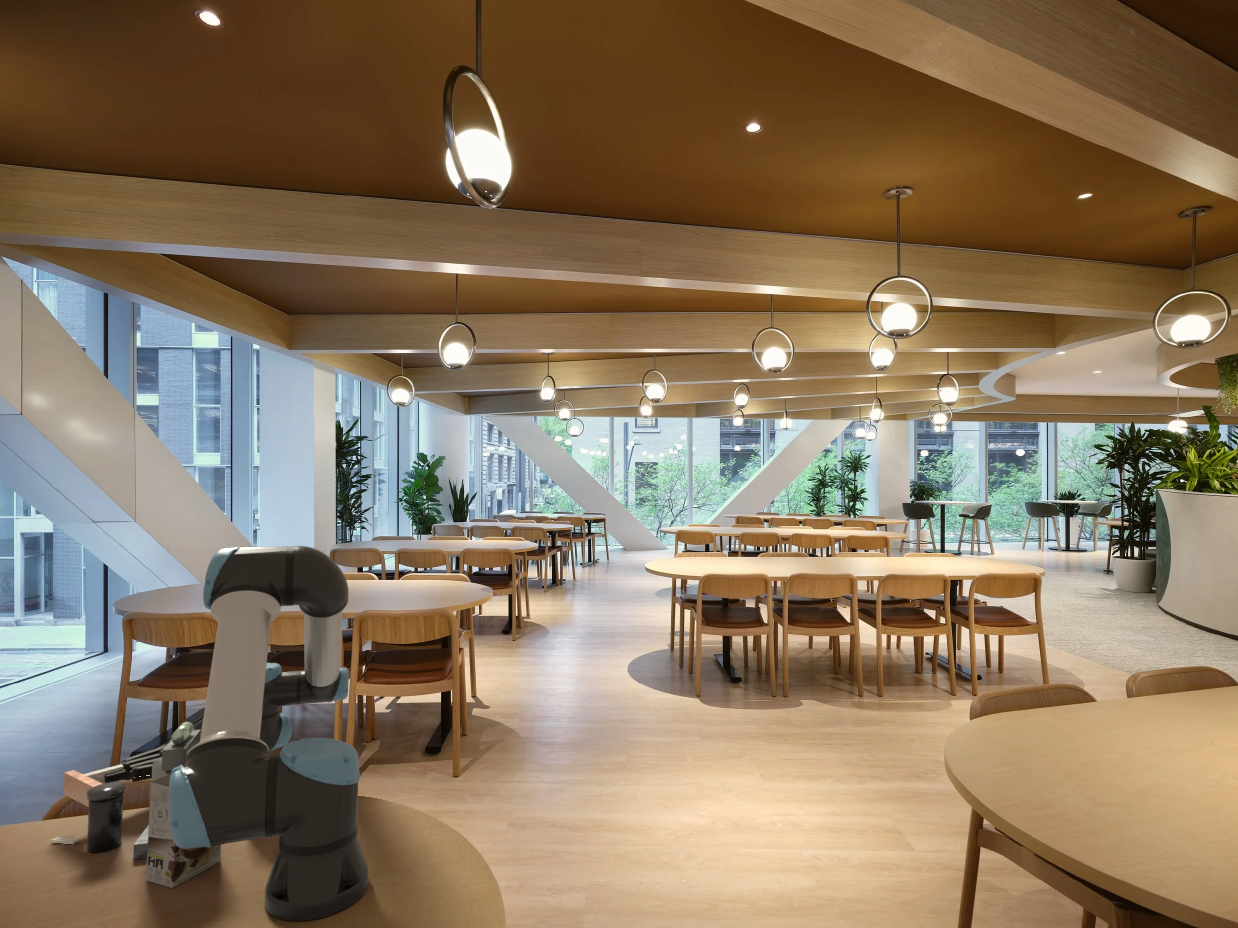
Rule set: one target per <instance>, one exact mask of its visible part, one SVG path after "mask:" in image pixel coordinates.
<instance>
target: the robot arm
mask: <svg viewBox="0 0 1238 928" xmlns="http://www.w3.org/2000/svg"><path fill="white" fill-rule="evenodd" d="M202 590H203V591H202V599H203V600H202V601H203V604H204V607H205V609H207V610H209V611H210V614H211V617H212V618H213V619H214V620H215V621H217V622H218V623H217V628H216V634H215V640H214V647H213V654H212V658H211V660H212V661H211V665H210V666H211V667H210V671H209V672H210V673H209V680H208V686H207V692H206V699H205V706H204V713H203V719H202V725H201V738H200V742H199V743H198V744H196V745H195V746H194V747H192V748H191V749H190V750H189V751H188V753H187V757H186V763H185V766H182V765H180V766H178V767H175V768H174V769H173V770H172V771H171V776H170V781H169V816H170V827H171V834H172V838H173V841H174V843H175V844H176V845H177V846H178V847H179V848H182V849H188V848H198V847H207V848H209V847H211V846H214V845H220V844H221V845H225V844H230V843H238V842H245V841H250V840H251V841H252V840H257V839H265V838H269V837H276V836H278V850H277V852H276V853H277V854H276V856H275V859H274V861H273V862H274V863H273V865H272V867H271V871H270V873H269V877H268V880H267V881H266V885H265V887H264V888H265V889H264V890H265V891H264V907H265V908H264V909H265V910H266V912H267V913H268V914H270V915H271V916H273V917H275V918H277V919H281V920H285V921H294V922H295V921H303V922H304V921H311V920H316V919H322V918H326V917H328V916H331V915H334V914H337V913H339V912H341V911H343V910H345V909H347V908H348V907H351V906H352V905H353V904H355V903H356V902H357V901H358V900H360V899H361V898H362V896H363V895H364V894H365V893H366V891H367V889H368V885H369V869H368V868H369V867H368V866H367V861H366V859H365V855H364V852H363V848H362V846H361V843H360V840H359V837H358V834H359V832H358V830H359V827H358V825H359V820H358V819H359V781H360V780H361V773H360V766H359V764H360V762H359V760H360V759H359V753H358V751H357V750H356V748H355V747H354V746H353V745H352V744H350V743H348V742H345V741H343V740H339V739H336V738H329V737H305V738H300V739H298V740H293V741H290V739H291V737H292V731H293V729H292V728H293V727H292V725H291V720H290V717H289V716H288V715H287V714H286V713H285V712H281V707H287V706H296V705H308V704H319V703H320V704H321V703H332V702H337V701H343V700H346V699H348V696H349V685H350V684H349V682H350V681H349V680H350V679H349V677H350V676H349V675H350V674H349V673H350V672H349V669H348V668H347V667H342V666H341V664H342V661H341V660H342V636H343V635H342V634H343V612H344V610H345V608H346V607H347V606H348V603H349V595H350V593H349V586H348V582H347V578H346V576H345V574H344V572H343V570H342V569H341V568H340V566H339V565H338V564H337V563H336V562H335V560H333V559H332V558H331V557H330V556H328V555H327V554H326V553H324V552H323V551H320V550H319V549H316V548H314V547H311V546H305V545H293V546H287V545H286V546H284V545H283V546H243V545H242V546H241V545H240V546H237V547H224V548H222V549H219V550H217V551H216V552H215V553H214V554H213V555H212V556H211V559H210V561H209V564H208V566H207V569H206V572H205V577H204V585H203V589H202ZM288 606H289V607H291V606H292V607H293V606H298V608H299V610H300V611H301V612H302V613H303V636H304V637H303V639H304V640H303V642H304V643H303V647H304V649H303V650H304V651H303V653H304V670H294V671H293V670H292V671H283V669H282V665H280V664H279V663H277V662H268V652H269V642H270V633H271V632H270V631H271V622H273V621H275V620H276V619H277V618H278V617H279V615H280V614H281V609H282V607H288ZM167 744H168V743H167ZM167 744H166V743H165V744H163V745H161V746H159V747H157V748H154V749H151V750H148V751H145V752H142V753H139V754H135V755H133V756H130V757H127V758H124V759H121V763H120V764H117V765H113V766H109V767H105V768H102V769H99V770H94V771H90V772H87V773H82V774H83V775H85V776H87V777H89V778H92V779H94V780H96V781H98V782H100V783H102V784H104V783H109V782H122V781H131V782H133V783H136V782H140V781H145V780H150V779H151V780H152V764H153V762H154V761H155V760H156V759H158V758H160V757H162V750H163V749H164V748H165V747H166V746H167ZM279 748H282V749H281V751H280V752H279V754H277V755H275V754H274V755H269V752H271V751H274V750H277V749H279ZM146 775H150V776H146ZM139 776H141V777H139ZM134 777H135V778H134Z"/></svg>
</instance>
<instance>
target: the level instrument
mask: <svg viewBox="0 0 1238 928" xmlns="http://www.w3.org/2000/svg"><path fill="white" fill-rule="evenodd" d="M194 726H195V725H194V724H193V723H192V722H190V721H184V722H182V723H181V724H180V725H179V726H178V727H177V729H175V731H173V733H172V734H171V737H170V741H169V742H168V743H167V746H166V747H165V748H164V749H163V750H162V757H160V758H158V759H156V760H155V761H154V762H153V764H152V778H151V781H154V780H157V779H159V778H162V777H165V776H167V775H170V774H171V771H172V770H173V769H174V768H175V767H178V766H180V765H182V766H185V763H186V757H187V753H188V751H189V750H190V749H191V748H192V747H194V746H195V745H196V744H198V743H199V742H200V738H201V731H202V729H195V727H194ZM148 830H149V824H148V825H147V826H146V828H145V829H144V830H143V831H142V833H141V835H139V836H138V839H137V840H136V841H135V843H134V844H133V858H132V859H133V860H140V859H147V851H148Z"/></svg>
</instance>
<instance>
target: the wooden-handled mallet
mask: <svg viewBox="0 0 1238 928" xmlns="http://www.w3.org/2000/svg"><path fill="white" fill-rule="evenodd" d="M83 774H84V773H81V772H79V771H78V770H75V769H73V770H72V769H71V770H68V771H66V772H64V773H63V795H65V796H67V797H68V798H70V799H72V800H74V801H76V802H78V803H80V804H82V805H83V806H85V807H86V808H88V811H87V812H88V814H87V815H88V816H87V839H86V841H87V843H86V851H87V852H90V853H102V852H105V851H109V850H112V849H114V848H117V847H118V846H119V845H121V843H122V840H123V837H122V836H123V814H124V813H123V811H124V810H123V809H124V793H125V792H126V788H127V787H126V786H127V785H126V783H125V782H122V781H119V782H109V783H104V784H102V783H100V782H98V781H96V780H94V779H92V778H89V777H87V776H85V775H83Z"/></svg>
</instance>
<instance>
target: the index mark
mask: <svg viewBox="0 0 1238 928" xmlns="http://www.w3.org/2000/svg"><path fill="white" fill-rule="evenodd" d="M50 841H51V842H56V843H65V844H74V843H76V842H78V841H79V842H80V838H77V837H67V836H56V837H54V838H52V839H51V840H50ZM51 842H50V843H51ZM79 842H78V843H79ZM65 844H64V845H65ZM76 844H77V843H76ZM74 845H75V844H74Z"/></svg>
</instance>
